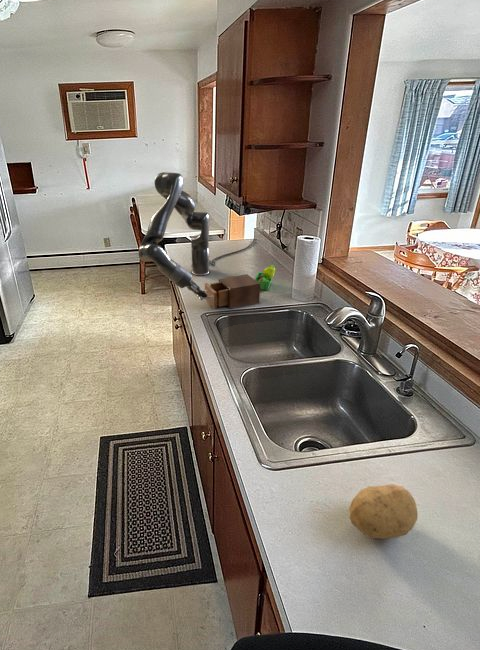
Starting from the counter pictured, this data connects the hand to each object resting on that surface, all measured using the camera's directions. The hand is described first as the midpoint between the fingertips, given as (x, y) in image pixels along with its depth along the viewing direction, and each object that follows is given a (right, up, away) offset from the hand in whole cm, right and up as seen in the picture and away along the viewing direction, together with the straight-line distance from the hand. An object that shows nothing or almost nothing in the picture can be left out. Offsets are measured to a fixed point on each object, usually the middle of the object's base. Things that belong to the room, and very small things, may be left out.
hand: (205, 296), depth 173 cm
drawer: (+6, -3, +3) cm, 7 cm away
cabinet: (+16, -2, +6) cm, 17 cm away
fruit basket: (+31, +5, +19) cm, 37 cm away
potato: (+28, -47, -94) cm, 109 cm away
